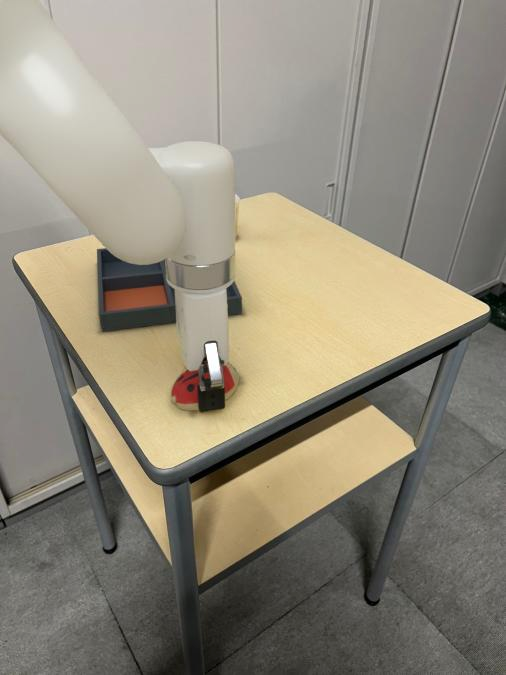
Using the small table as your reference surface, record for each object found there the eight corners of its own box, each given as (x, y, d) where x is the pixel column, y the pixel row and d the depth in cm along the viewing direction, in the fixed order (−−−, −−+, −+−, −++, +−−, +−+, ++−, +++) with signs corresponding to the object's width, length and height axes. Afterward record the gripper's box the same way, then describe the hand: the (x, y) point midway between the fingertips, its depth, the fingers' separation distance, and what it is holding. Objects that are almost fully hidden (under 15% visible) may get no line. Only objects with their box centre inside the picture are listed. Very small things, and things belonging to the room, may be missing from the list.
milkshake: (210, 241, 101) (208, 192, 95) (224, 231, 105) (223, 183, 99) (230, 246, 100) (229, 196, 94) (243, 236, 104) (244, 187, 98)
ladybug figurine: (251, 388, 67) (251, 367, 65) (191, 425, 62) (189, 403, 60) (217, 363, 71) (217, 343, 69) (158, 396, 66) (155, 375, 64)
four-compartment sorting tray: (102, 332, 77) (98, 314, 75) (99, 264, 93) (96, 248, 91) (241, 314, 81) (241, 297, 79) (215, 252, 98) (215, 237, 96)
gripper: (156, 233, 62) (168, 350, 72) (176, 313, 48) (186, 442, 59) (218, 228, 63) (221, 343, 74) (254, 303, 50) (251, 431, 60)
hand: (205, 386), depth 66 cm, fingers closed on ladybug figurine, 7 cm apart
